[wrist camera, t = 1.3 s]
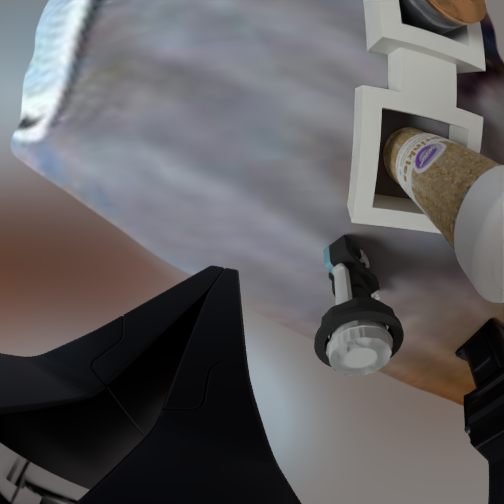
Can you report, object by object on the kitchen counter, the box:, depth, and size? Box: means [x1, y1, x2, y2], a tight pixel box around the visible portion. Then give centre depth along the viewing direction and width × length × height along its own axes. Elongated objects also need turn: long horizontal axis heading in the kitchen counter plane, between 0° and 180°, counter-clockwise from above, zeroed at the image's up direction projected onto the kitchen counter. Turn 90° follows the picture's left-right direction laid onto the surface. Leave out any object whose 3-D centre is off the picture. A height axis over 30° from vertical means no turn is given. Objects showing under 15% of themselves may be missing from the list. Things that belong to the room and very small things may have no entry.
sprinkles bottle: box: [383, 127, 504, 303], centre depth 11 cm, size 5×5×14 cm
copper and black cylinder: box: [399, 0, 486, 35], centre depth 7 cm, size 4×4×6 cm
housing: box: [347, 0, 486, 234], centre depth 12 cm, size 19×9×4 cm, turn 2°
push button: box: [314, 235, 404, 376], centre depth 17 cm, size 7×5×10 cm
